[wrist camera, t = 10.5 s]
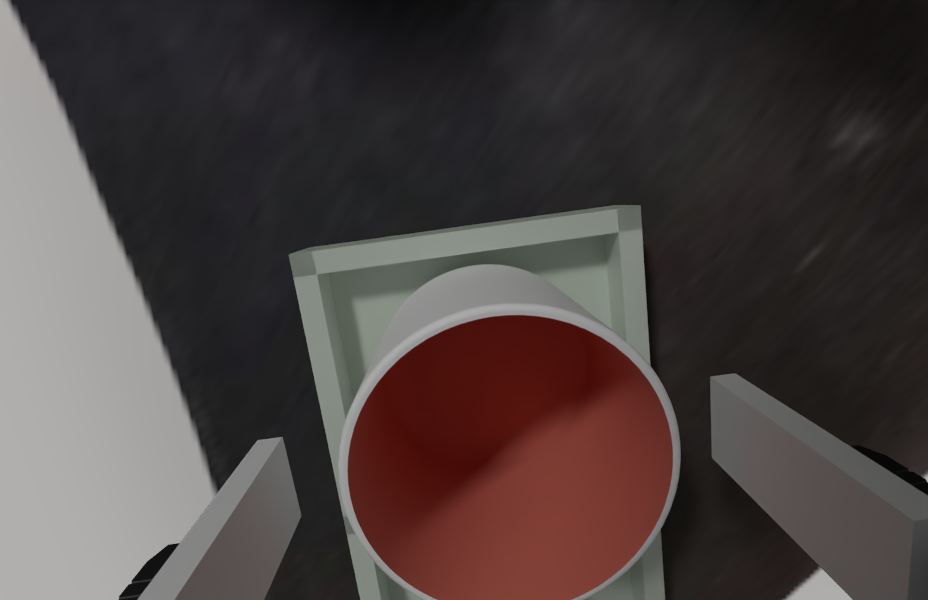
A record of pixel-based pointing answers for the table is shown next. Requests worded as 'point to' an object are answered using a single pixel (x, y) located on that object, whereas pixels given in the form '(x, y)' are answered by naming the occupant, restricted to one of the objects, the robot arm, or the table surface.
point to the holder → (439, 251)
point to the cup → (506, 444)
